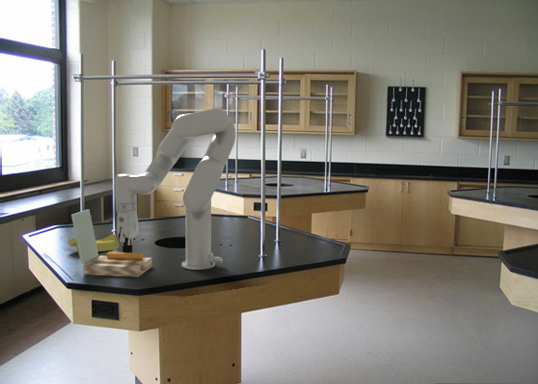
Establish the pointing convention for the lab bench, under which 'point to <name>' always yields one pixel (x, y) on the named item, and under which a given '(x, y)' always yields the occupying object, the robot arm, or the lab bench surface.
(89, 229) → the plate
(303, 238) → the lab bench surface
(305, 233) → the lab bench surface
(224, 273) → the lab bench surface
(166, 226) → the lab bench surface
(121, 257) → the rod
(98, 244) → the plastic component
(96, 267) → the base
